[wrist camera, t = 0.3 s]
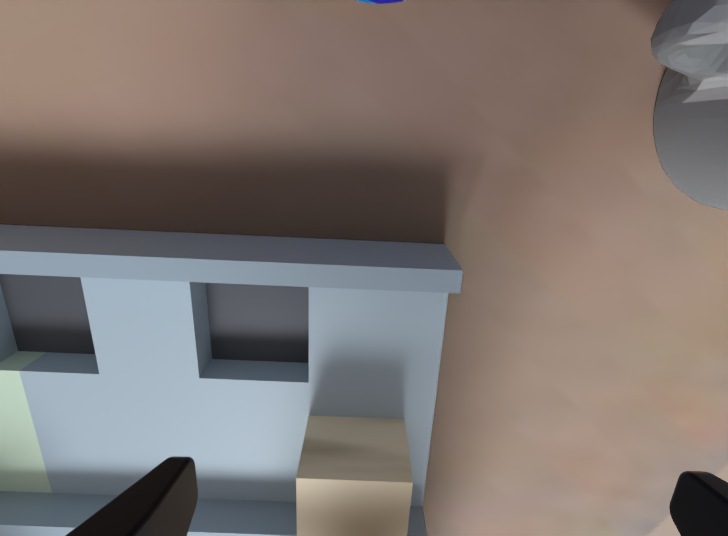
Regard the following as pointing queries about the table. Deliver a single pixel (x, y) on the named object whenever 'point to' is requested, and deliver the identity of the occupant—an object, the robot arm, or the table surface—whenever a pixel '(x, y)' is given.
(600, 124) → the table surface
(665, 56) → the coffee mug
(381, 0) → the beer can
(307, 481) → the beech block
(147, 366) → the box
